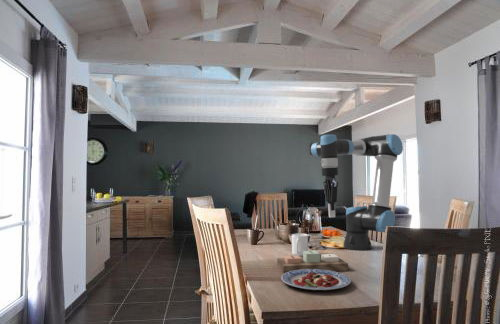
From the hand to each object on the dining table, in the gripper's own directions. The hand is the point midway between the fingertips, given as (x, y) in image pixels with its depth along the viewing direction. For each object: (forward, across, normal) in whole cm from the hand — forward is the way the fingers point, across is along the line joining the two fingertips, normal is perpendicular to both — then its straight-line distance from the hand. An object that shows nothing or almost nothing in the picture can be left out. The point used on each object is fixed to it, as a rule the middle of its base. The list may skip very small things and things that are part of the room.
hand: (332, 217), depth 162 cm
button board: (+21, +8, -14) cm, 26 cm away
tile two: (+18, +8, -13) cm, 24 cm away
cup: (+21, -17, -12) cm, 30 cm away
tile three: (+20, +8, -22) cm, 31 cm away
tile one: (+20, +8, -5) cm, 22 cm away
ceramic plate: (+20, +30, -19) cm, 41 cm away
